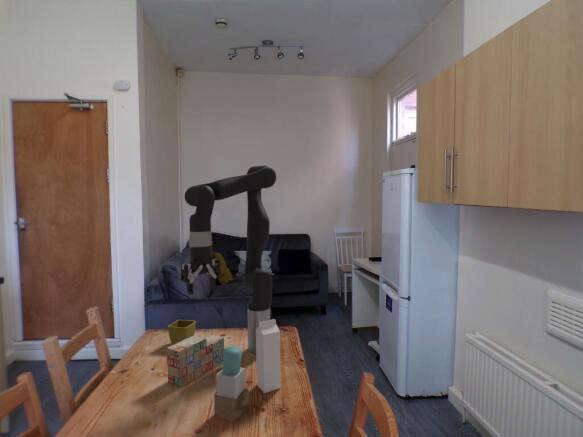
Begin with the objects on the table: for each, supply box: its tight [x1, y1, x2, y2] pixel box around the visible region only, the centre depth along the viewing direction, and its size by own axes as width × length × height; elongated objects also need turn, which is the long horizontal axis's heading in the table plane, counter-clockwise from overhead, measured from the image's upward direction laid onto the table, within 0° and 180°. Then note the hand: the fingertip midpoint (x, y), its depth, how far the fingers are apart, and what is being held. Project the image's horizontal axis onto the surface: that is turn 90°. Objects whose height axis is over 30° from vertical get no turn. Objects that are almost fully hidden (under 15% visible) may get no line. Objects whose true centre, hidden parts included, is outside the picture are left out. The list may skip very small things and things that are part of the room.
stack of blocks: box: [166, 334, 225, 388], centre depth 123 cm, size 21×6×12 cm, turn 149°
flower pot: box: [167, 319, 197, 345], centre depth 147 cm, size 9×9×9 cm
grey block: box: [215, 366, 246, 399], centre depth 99 cm, size 6×6×6 cm
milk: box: [255, 318, 282, 394], centre depth 112 cm, size 6×6×22 cm
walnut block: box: [213, 387, 250, 423], centre depth 99 cm, size 7×7×6 cm
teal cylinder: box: [221, 345, 243, 375], centre depth 98 cm, size 5×5×6 cm
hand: (201, 291), depth 117 cm, fingers open, 8 cm apart
